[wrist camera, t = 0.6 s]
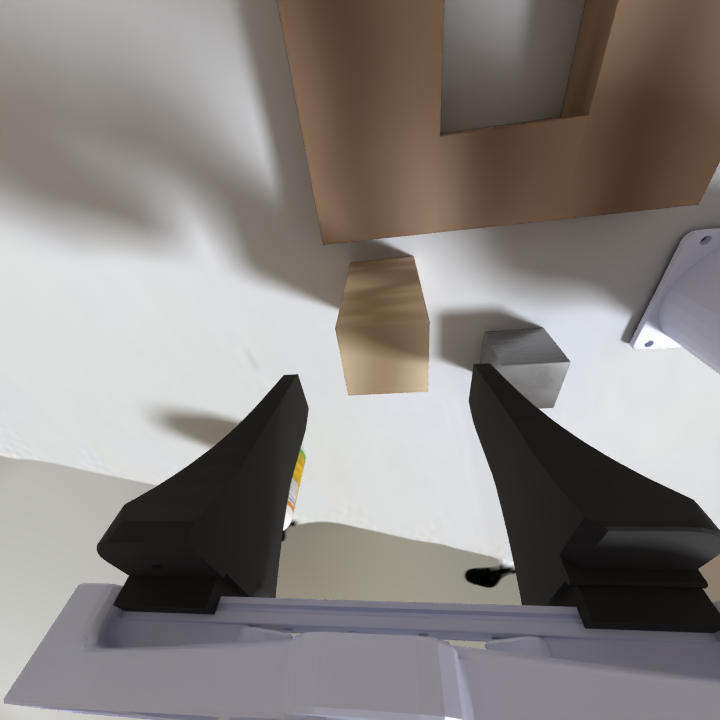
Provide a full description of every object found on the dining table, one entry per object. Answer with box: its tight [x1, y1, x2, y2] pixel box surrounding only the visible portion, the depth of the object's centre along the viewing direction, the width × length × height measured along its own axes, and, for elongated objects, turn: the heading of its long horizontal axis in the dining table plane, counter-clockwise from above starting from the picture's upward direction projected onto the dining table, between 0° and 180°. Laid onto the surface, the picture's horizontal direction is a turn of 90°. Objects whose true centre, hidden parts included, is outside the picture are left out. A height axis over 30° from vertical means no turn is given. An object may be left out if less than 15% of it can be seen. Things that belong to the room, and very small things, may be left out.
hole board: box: [277, 0, 720, 245], centre depth 12 cm, size 18×14×2 cm
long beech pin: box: [335, 256, 430, 395], centre depth 17 cm, size 4×4×8 cm
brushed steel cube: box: [480, 328, 570, 408], centre depth 21 cm, size 4×4×4 cm
